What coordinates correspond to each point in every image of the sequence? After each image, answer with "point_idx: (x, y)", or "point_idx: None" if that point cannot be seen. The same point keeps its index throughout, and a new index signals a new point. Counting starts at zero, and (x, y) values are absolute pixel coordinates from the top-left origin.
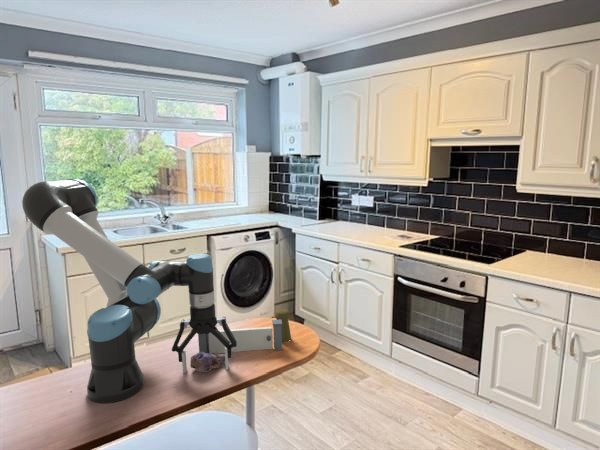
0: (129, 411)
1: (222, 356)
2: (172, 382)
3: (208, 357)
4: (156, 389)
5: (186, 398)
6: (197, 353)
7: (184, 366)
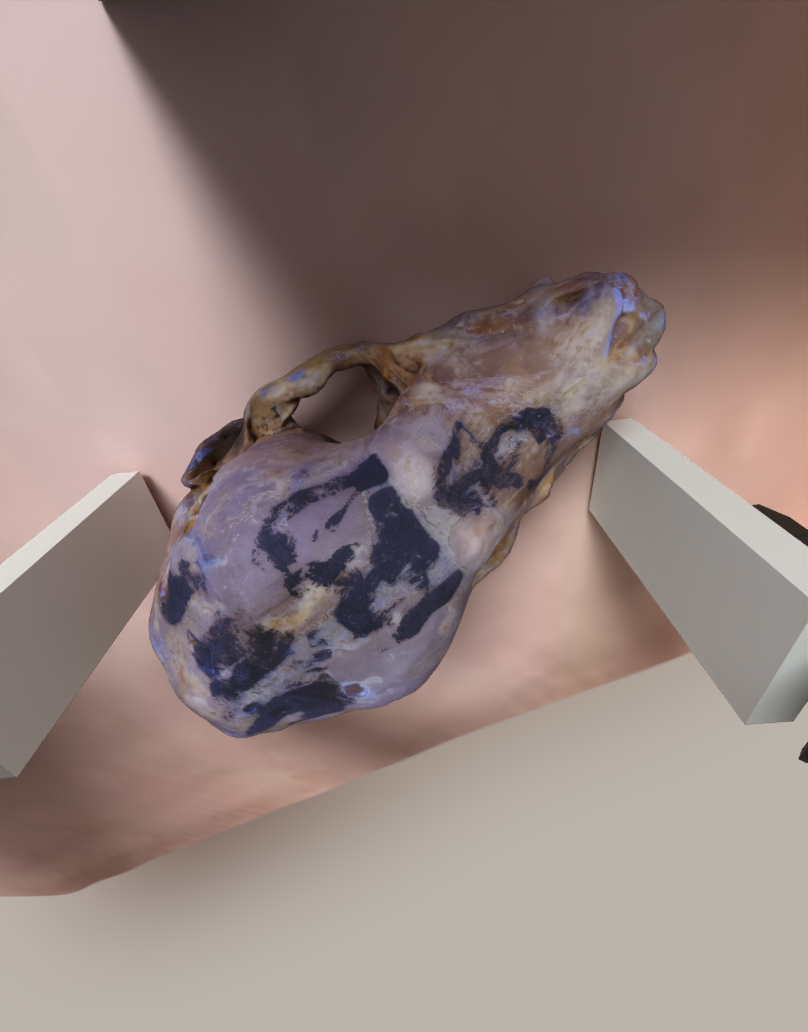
0: (100, 818)
1: (608, 408)
2: (152, 652)
3: (429, 676)
4: (94, 709)
5: (338, 765)
6: (206, 601)
7: (138, 601)
